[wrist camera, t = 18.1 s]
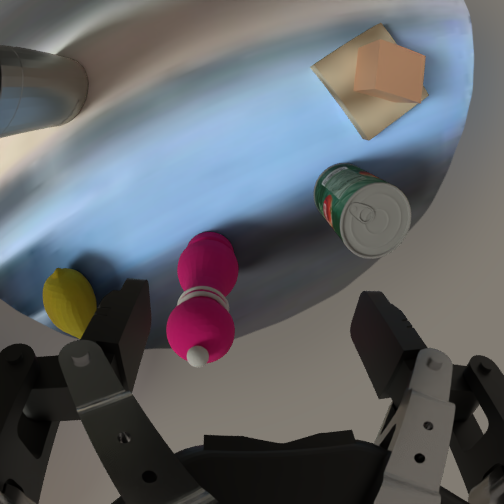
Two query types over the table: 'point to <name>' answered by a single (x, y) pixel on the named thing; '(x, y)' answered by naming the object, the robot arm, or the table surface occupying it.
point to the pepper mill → (204, 300)
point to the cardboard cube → (389, 72)
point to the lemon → (69, 301)
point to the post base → (354, 103)
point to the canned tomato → (362, 209)
